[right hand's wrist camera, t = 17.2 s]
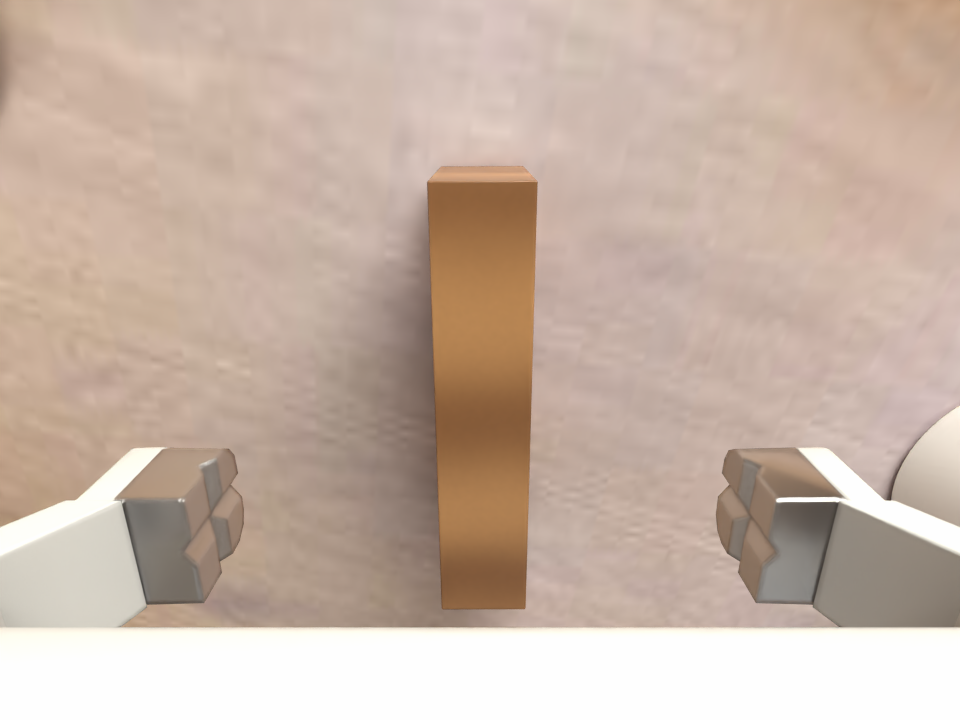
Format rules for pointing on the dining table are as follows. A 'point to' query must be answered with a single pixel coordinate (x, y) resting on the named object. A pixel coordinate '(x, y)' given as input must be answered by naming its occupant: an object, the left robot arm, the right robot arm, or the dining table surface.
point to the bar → (482, 378)
